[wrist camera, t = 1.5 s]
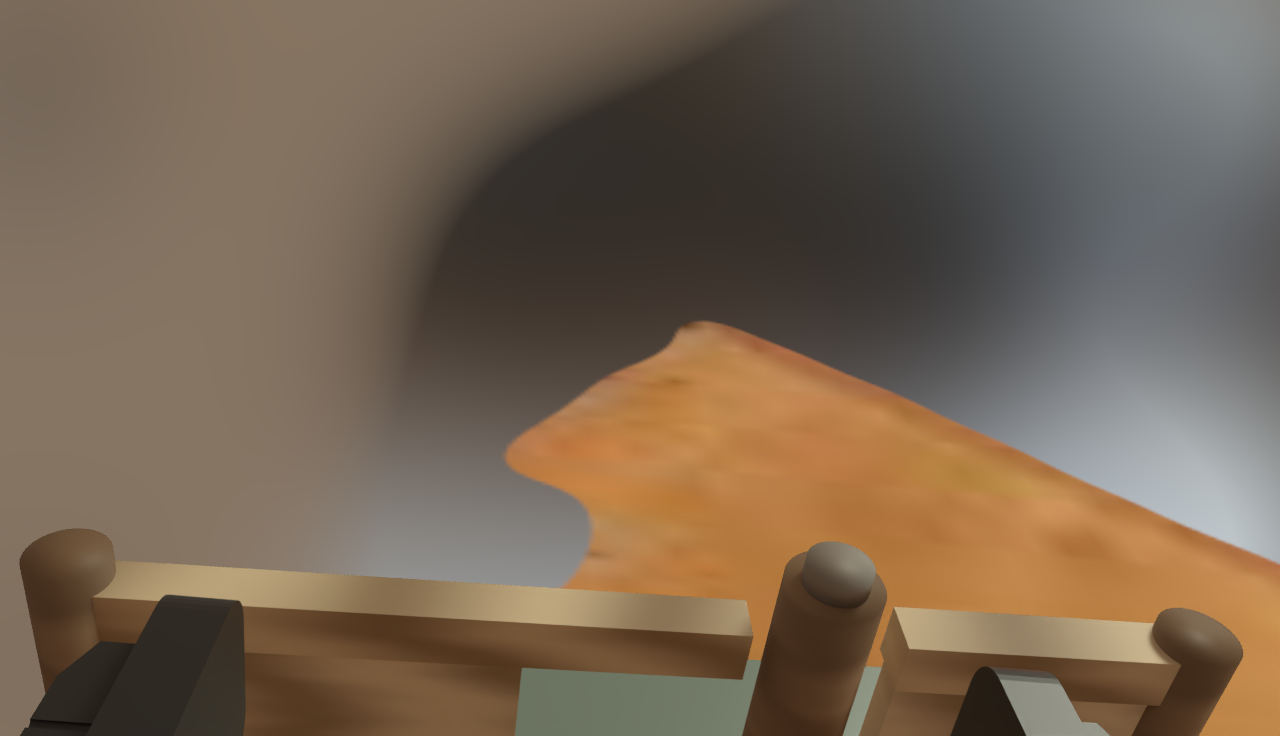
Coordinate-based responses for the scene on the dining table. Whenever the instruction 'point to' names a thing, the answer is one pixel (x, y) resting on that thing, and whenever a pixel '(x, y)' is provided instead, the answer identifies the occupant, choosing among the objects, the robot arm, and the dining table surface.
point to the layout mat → (648, 703)
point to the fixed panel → (1055, 668)
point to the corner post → (817, 643)
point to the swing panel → (380, 637)
